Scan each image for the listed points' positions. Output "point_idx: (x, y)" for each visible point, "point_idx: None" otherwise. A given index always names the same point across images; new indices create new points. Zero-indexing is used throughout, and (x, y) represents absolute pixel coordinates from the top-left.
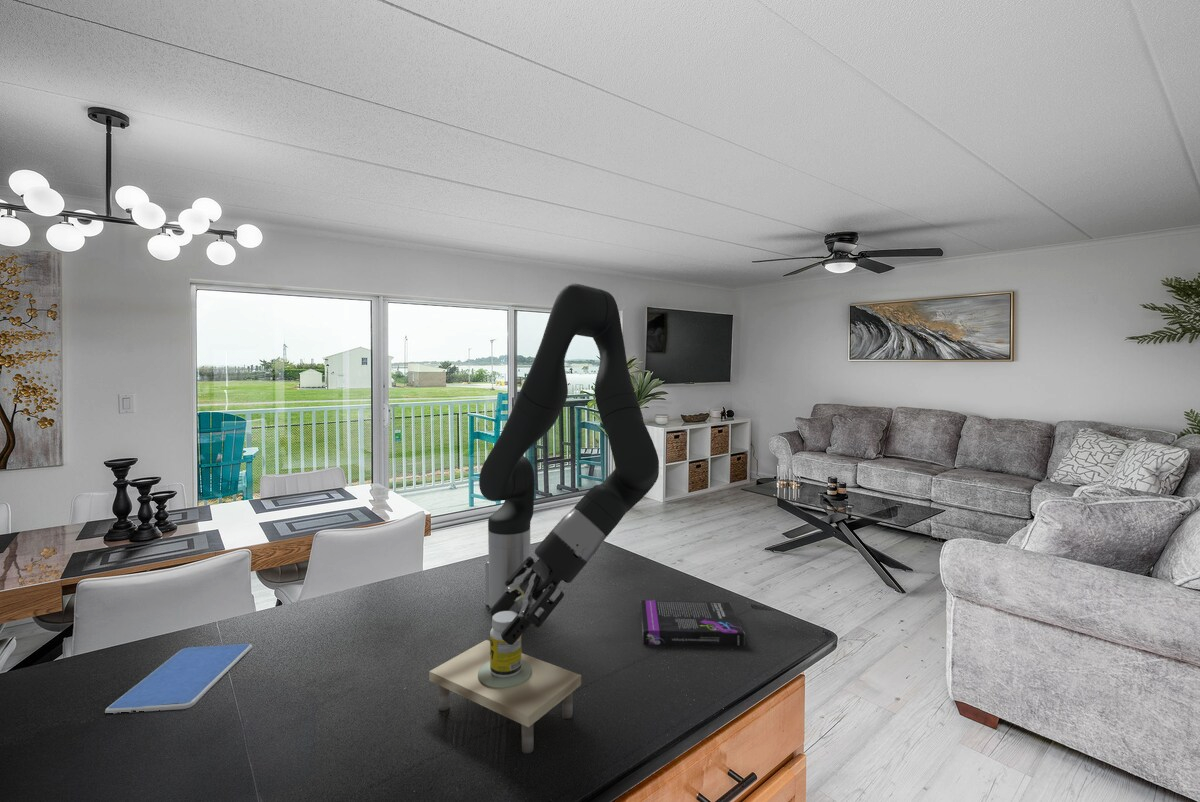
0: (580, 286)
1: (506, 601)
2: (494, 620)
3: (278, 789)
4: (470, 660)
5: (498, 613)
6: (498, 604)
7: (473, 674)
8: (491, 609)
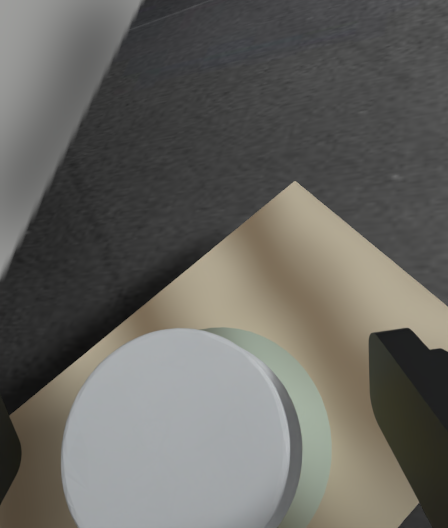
0: None
1: (444, 480)
2: (133, 341)
3: (122, 51)
4: (345, 305)
5: (244, 381)
6: (408, 390)
7: (241, 315)
8: (397, 336)
